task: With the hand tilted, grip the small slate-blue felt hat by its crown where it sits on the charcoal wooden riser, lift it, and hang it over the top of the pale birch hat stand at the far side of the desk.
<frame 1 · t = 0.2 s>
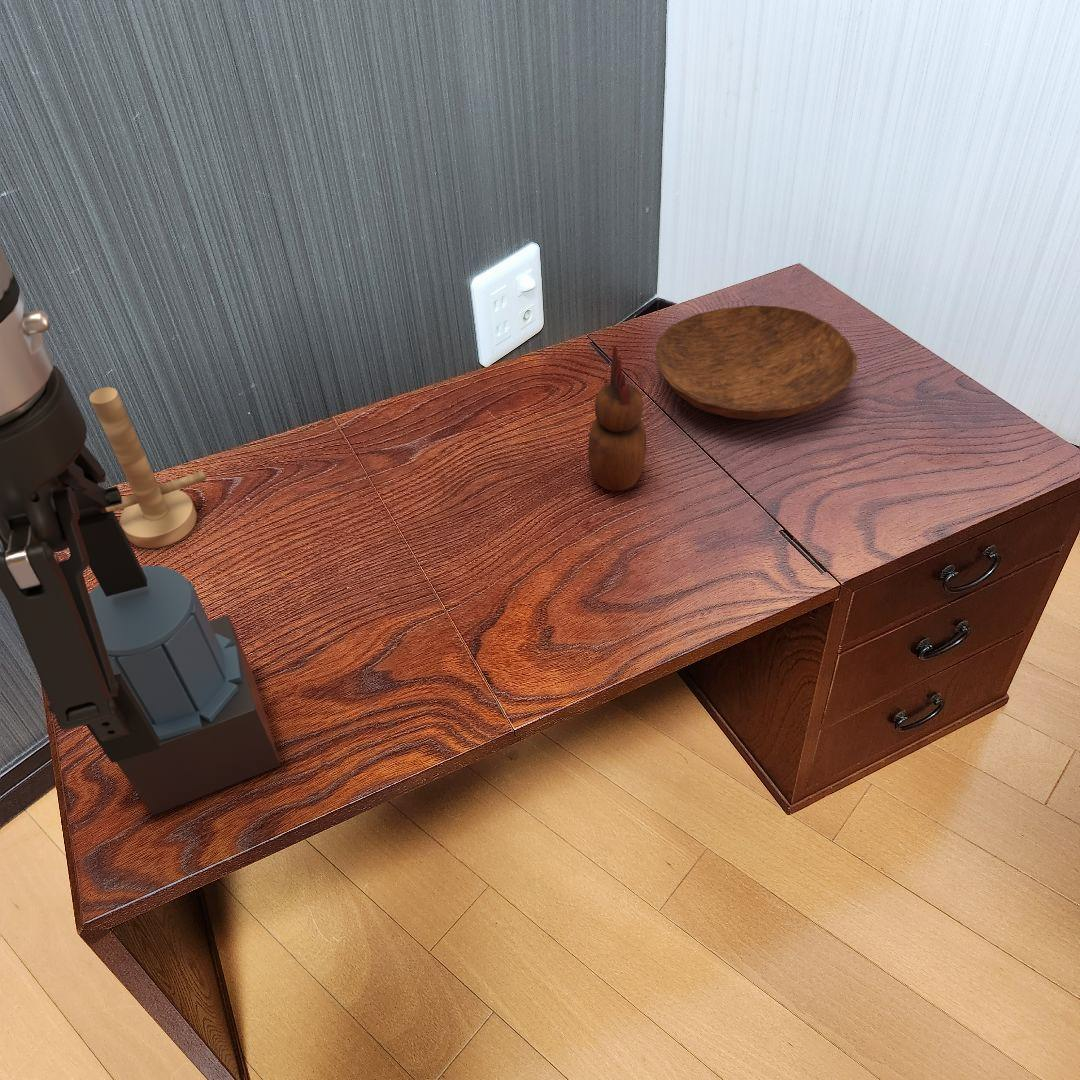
hand: (131, 663, 59), 18 cm above the table, tool pointing down, fingers open, 13 cm apart
hat stand: (161, 523, 94), on the table
wooden figurine: (616, 479, 96), on the table
bowl: (748, 391, 106), on the table
riser: (205, 740, 76), on the table
hat: (175, 683, 70), point 8 cm above the table, touching riser
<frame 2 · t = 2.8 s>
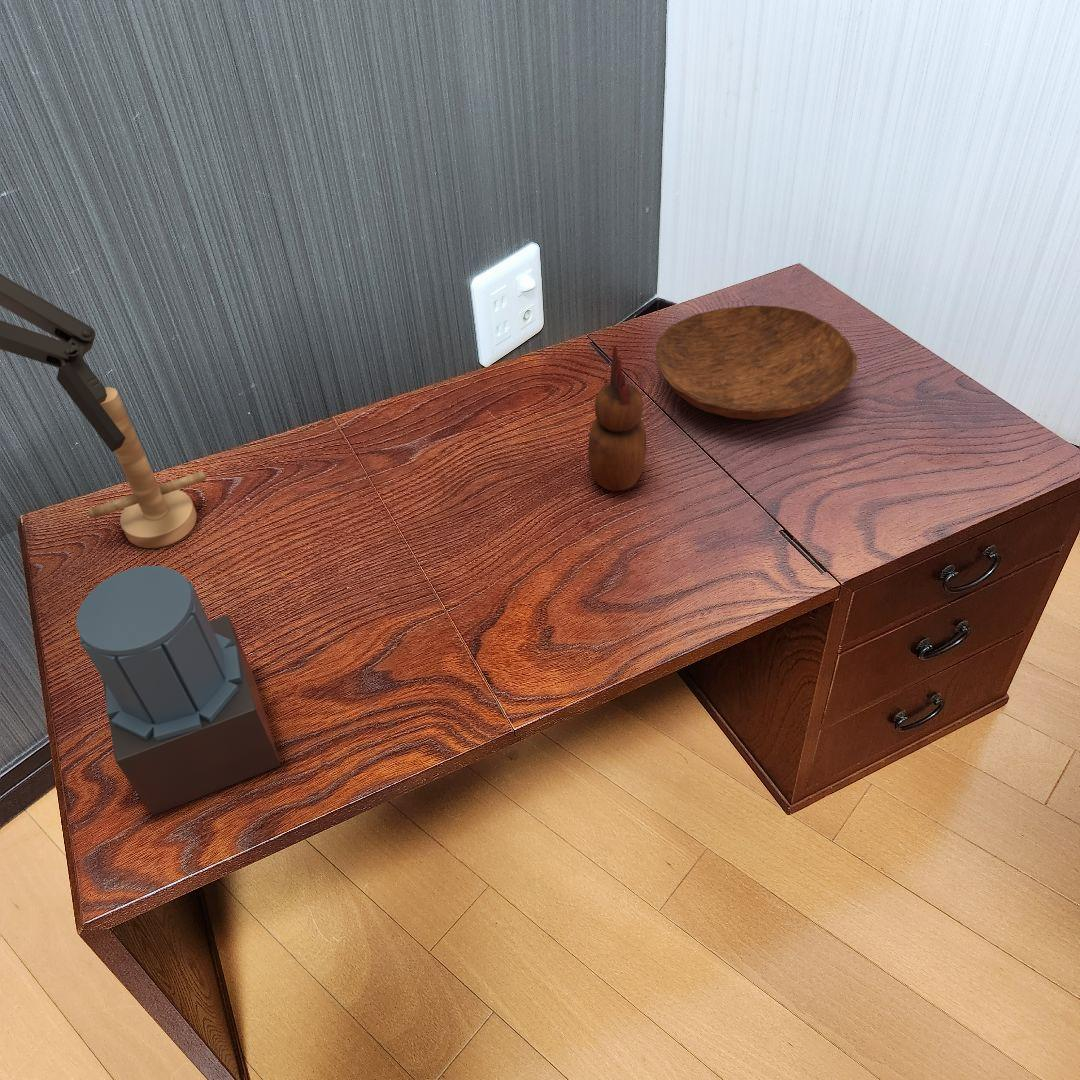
hand: (33, 494, 65), 21 cm above the table, tool tilted 45°, fingers open, 13 cm apart
nothing on the table moved.
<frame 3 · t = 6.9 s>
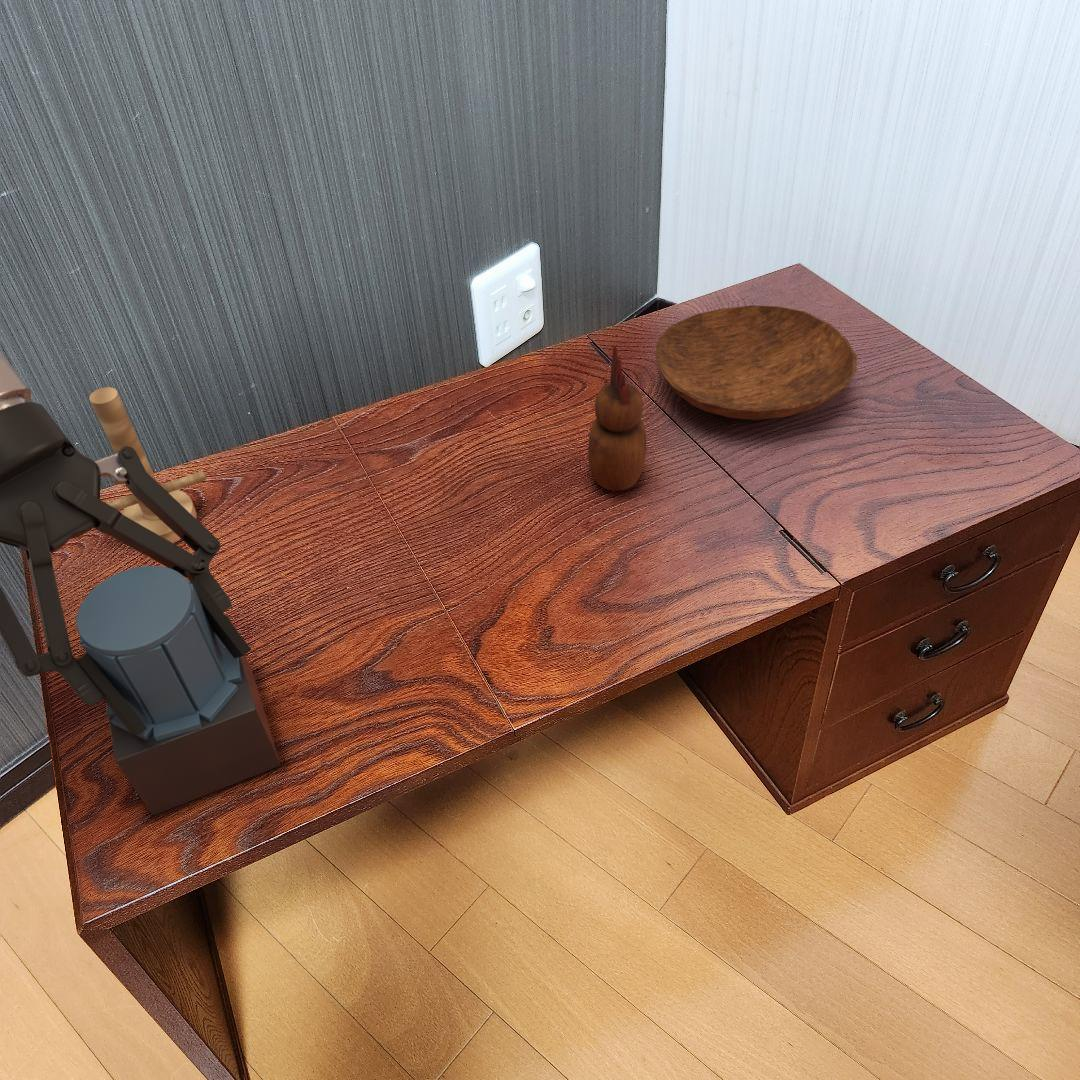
hand: (192, 691, 67), 10 cm above the table, tool tilted 45°, fingers closed on hat, 8 cm apart
hat: (175, 683, 70), point 8 cm above the table, touching gripper, riser
everything else where it was.
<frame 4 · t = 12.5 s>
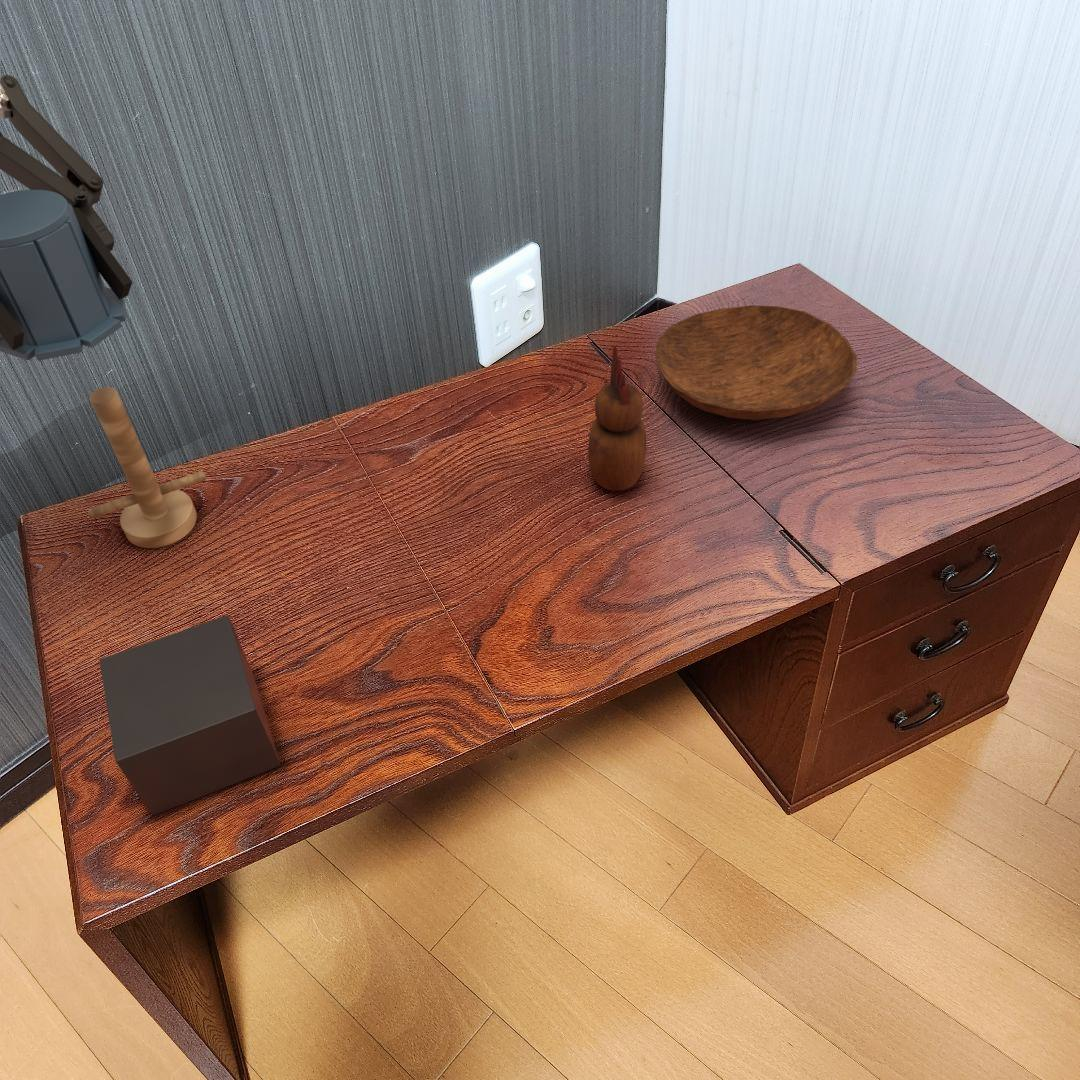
hand: (73, 315, 69), 28 cm above the table, tool tilted 45°, fingers closed on hat, 8 cm apart
hat: (61, 323, 72), point 26 cm above the table, touching gripper
everything else where it was.
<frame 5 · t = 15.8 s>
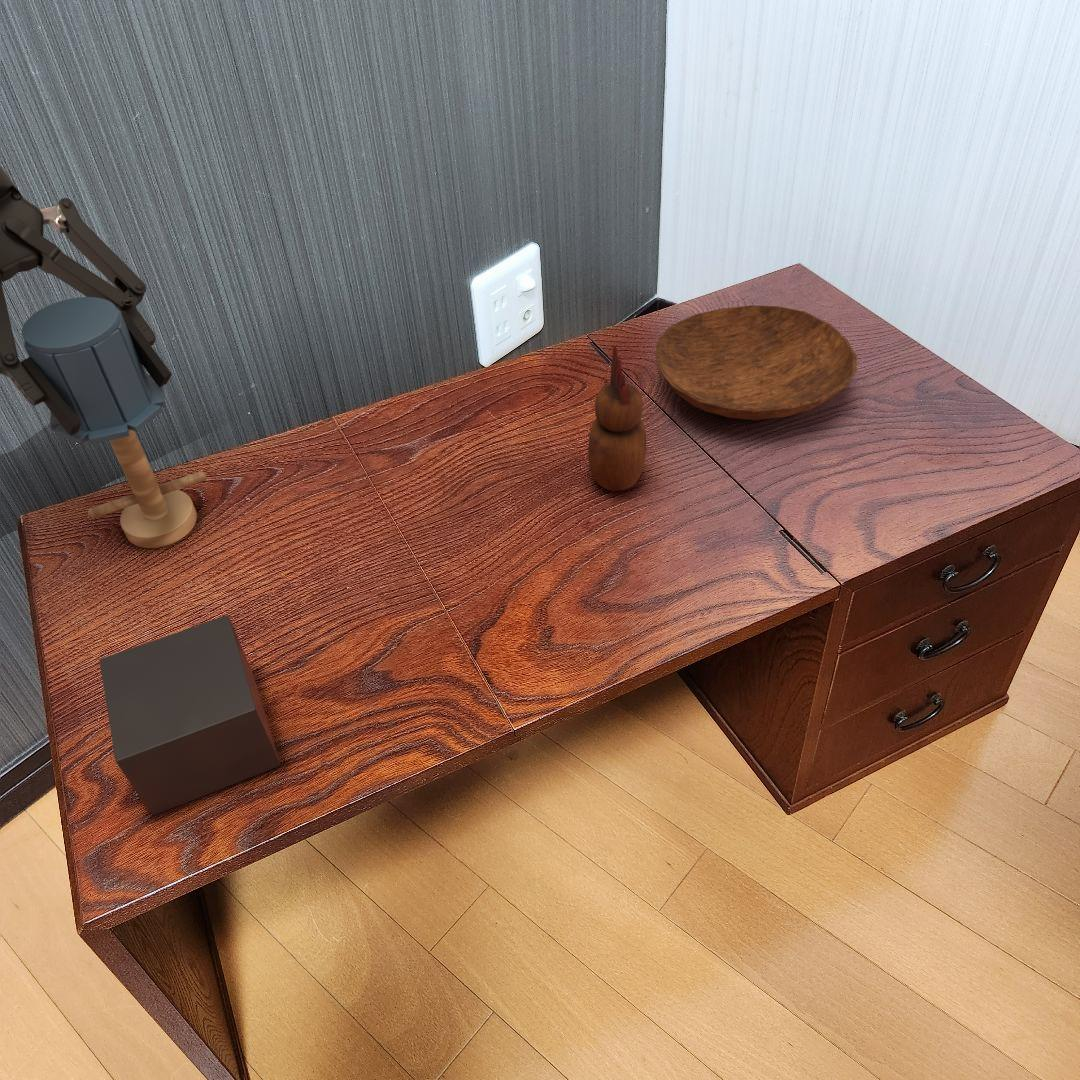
hand: (121, 404, 80), 17 cm above the table, tool tilted 45°, fingers closed on hat, 8 cm apart
hat: (109, 408, 83), point 15 cm above the table, touching gripper
everything else where it was.
when the fingers open (10 cm above the table, at t = 18.2 s): hat stays where it is, resting on hat stand.
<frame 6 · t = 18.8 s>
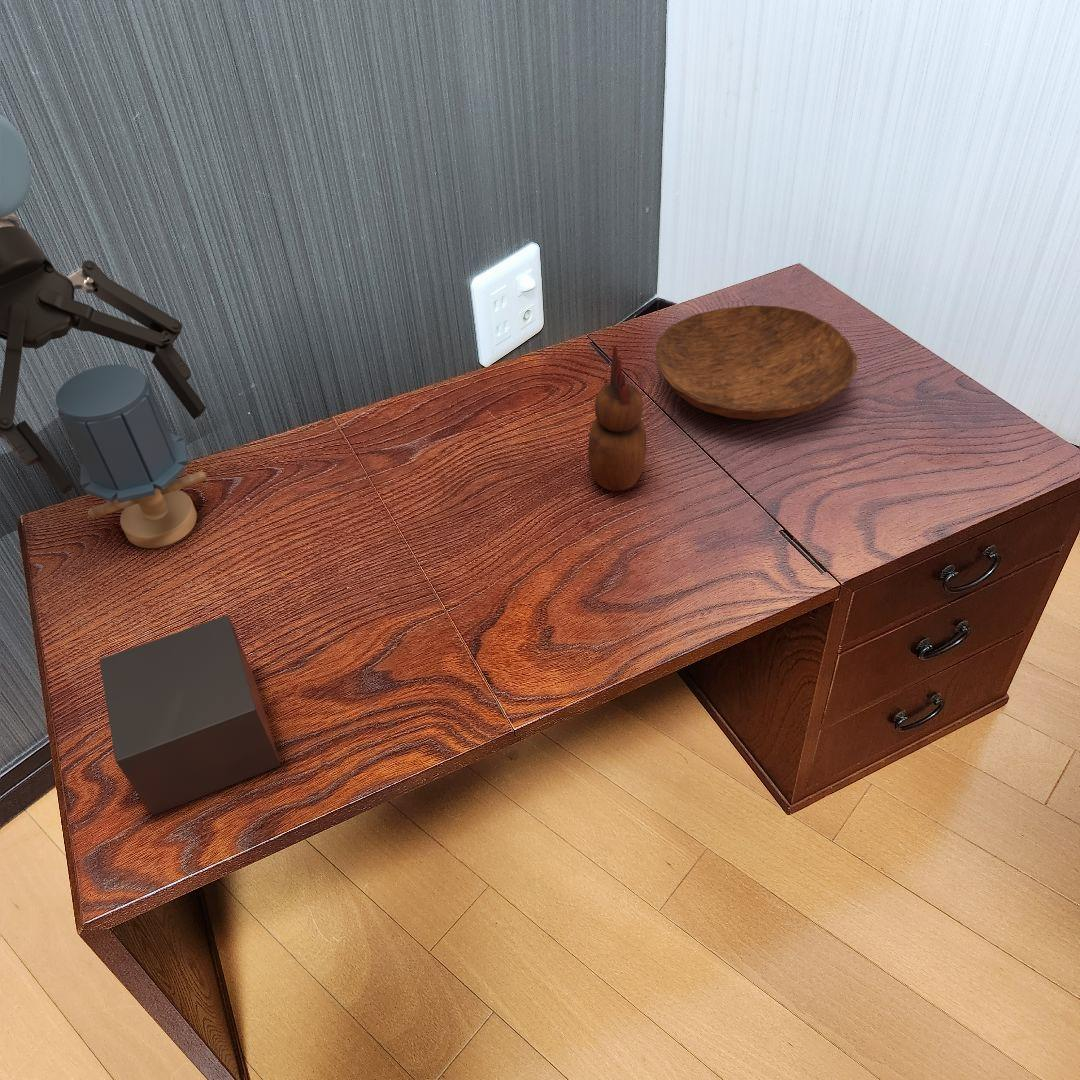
hand: (137, 450, 85), 11 cm above the table, tool tilted 45°, fingers open, 13 cm apart
hat: (135, 466, 88), point 8 cm above the table, touching hat stand
everything else where it was.
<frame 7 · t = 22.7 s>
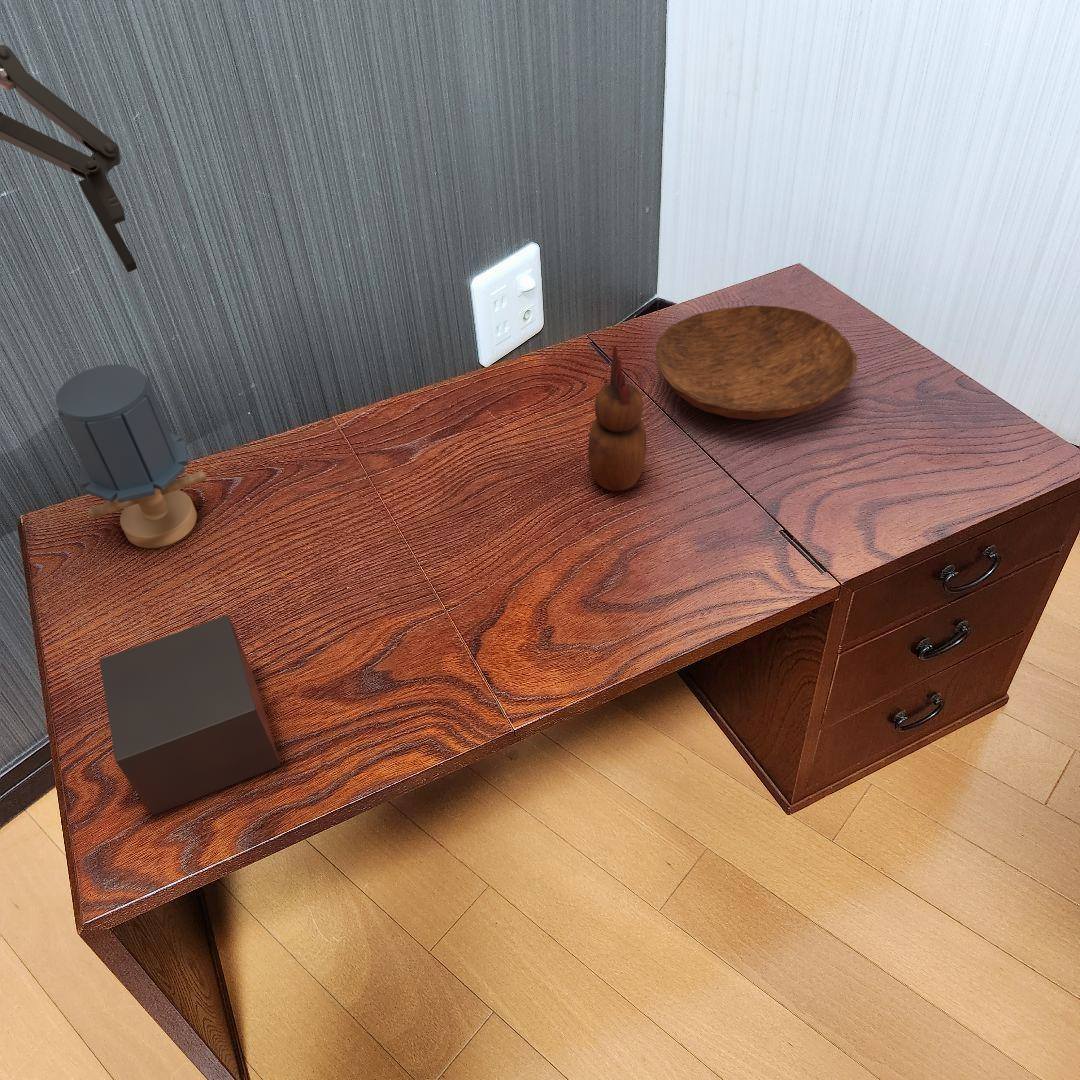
hand: (44, 304, 68), 29 cm above the table, tool tilted 35°, fingers open, 13 cm apart
nothing on the table moved.
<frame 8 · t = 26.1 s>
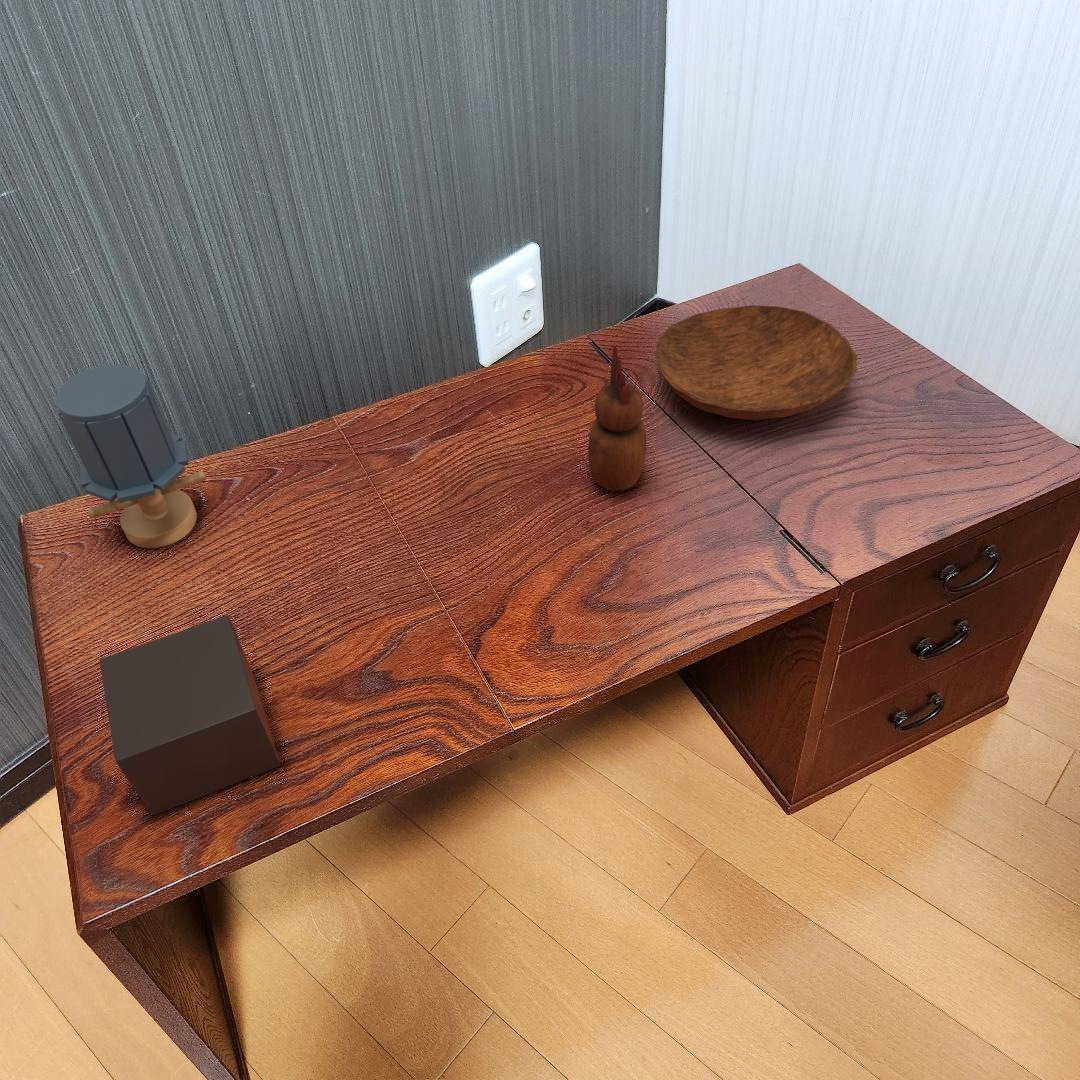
nothing on the table moved.
at the end: hat 0.0 cm off-centre on the hat stand, point 7.6 cm above the hat stand's base; hat touching hat stand; the gripper is holding nothing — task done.
